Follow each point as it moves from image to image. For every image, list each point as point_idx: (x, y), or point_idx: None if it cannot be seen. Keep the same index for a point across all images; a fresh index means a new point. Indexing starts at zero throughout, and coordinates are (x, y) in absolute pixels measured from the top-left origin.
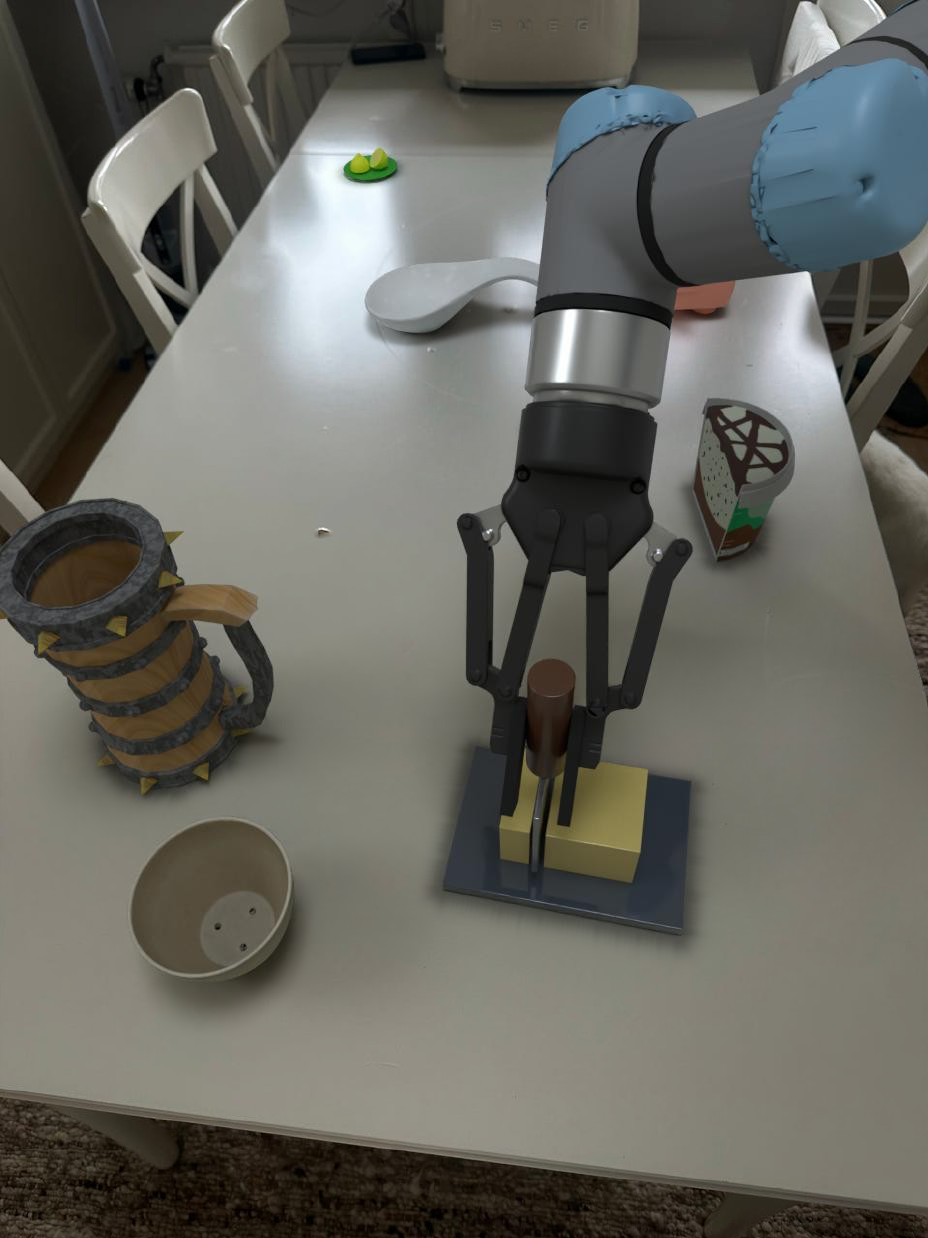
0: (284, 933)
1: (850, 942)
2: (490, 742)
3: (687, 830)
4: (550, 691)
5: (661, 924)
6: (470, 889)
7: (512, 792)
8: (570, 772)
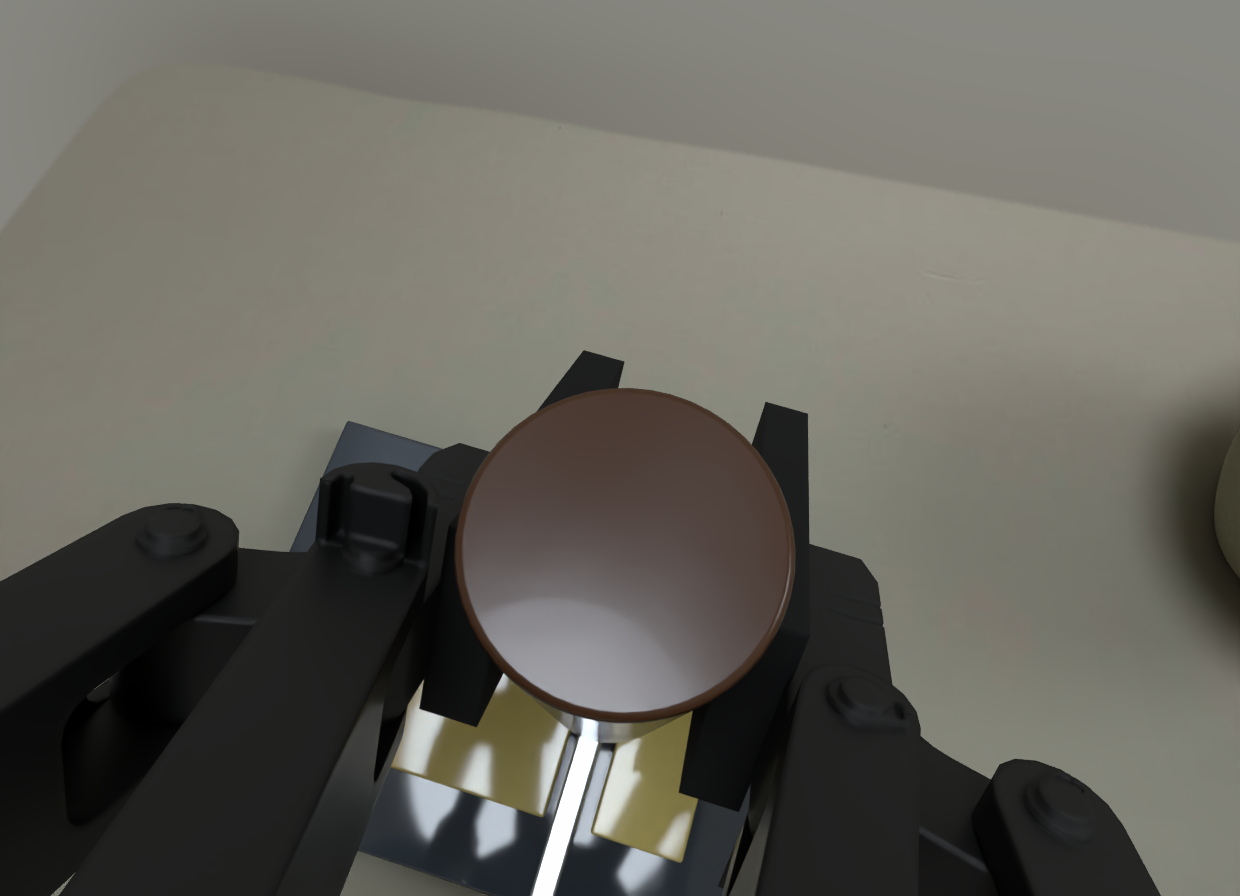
0: (1238, 440)
1: (22, 385)
2: (874, 586)
3: None
4: (649, 431)
5: (387, 436)
6: None
7: (772, 436)
8: None
